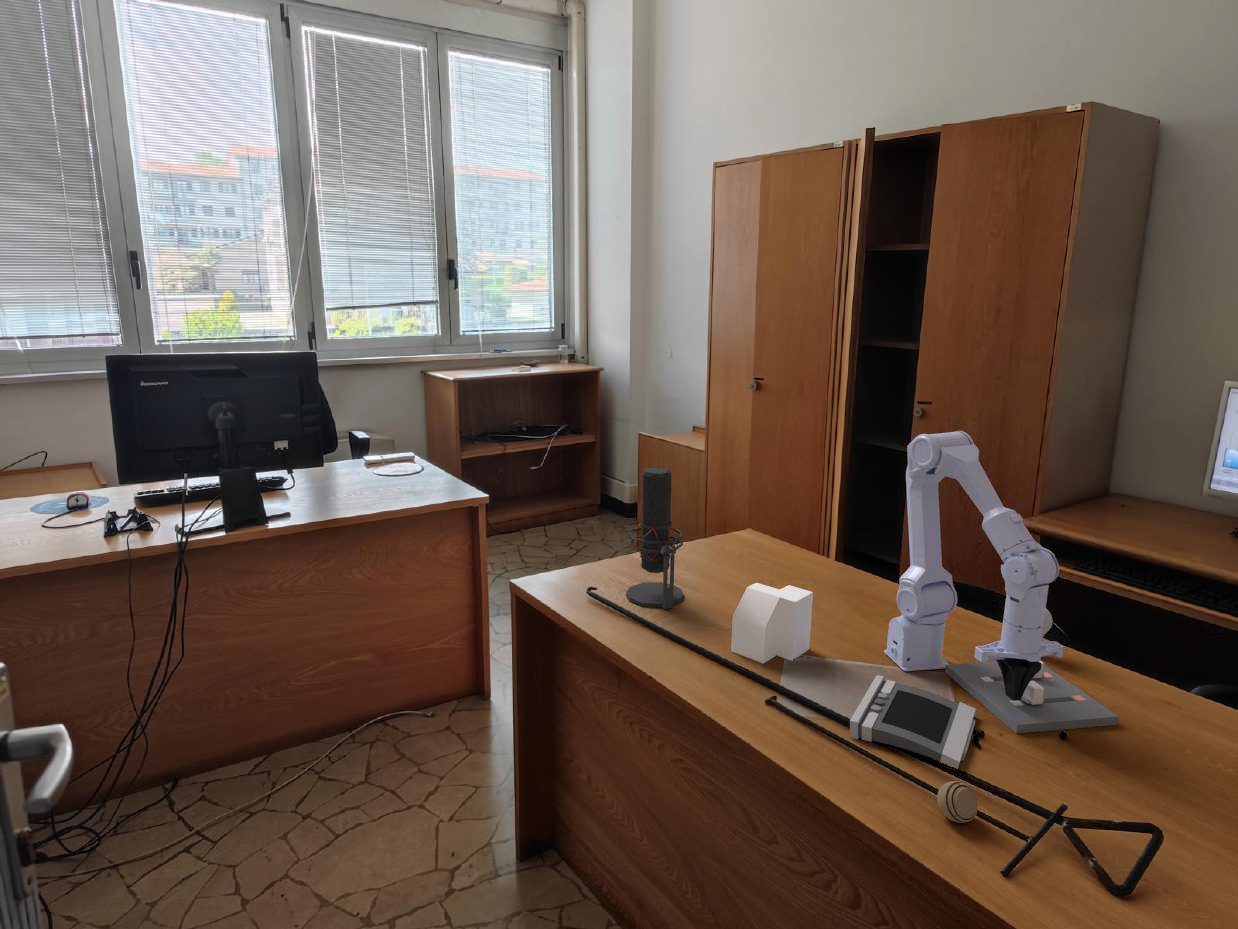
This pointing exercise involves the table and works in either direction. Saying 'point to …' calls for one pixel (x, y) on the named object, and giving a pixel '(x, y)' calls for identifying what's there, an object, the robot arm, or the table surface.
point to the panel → (1056, 713)
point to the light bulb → (1046, 622)
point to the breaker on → (1040, 672)
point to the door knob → (957, 801)
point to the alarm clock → (914, 721)
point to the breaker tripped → (1033, 693)
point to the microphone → (656, 542)
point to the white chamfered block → (772, 623)
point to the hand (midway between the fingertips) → (1013, 697)
